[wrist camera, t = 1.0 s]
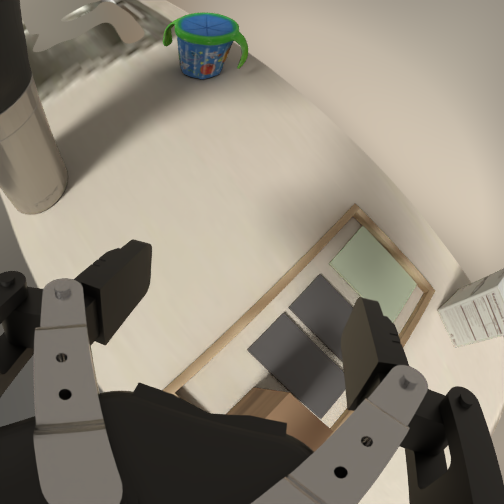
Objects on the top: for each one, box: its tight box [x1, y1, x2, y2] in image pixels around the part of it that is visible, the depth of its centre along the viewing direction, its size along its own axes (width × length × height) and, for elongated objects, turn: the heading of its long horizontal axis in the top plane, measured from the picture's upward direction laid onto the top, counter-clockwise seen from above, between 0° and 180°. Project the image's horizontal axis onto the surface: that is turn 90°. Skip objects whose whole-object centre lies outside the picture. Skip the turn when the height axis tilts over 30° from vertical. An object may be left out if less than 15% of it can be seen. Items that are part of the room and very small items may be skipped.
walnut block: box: [226, 387, 333, 452], centre depth 25 cm, size 5×5×12 cm
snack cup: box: [163, 13, 248, 79], centre depth 45 cm, size 16×10×10 cm
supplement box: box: [438, 269, 504, 348], centre depth 36 cm, size 7×7×13 cm
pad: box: [329, 226, 417, 323], centre depth 41 cm, size 12×8×1 cm
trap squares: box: [247, 274, 353, 419], centre depth 35 cm, size 12×13×1 cm
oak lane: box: [163, 204, 435, 439], centre depth 35 cm, size 18×35×1 cm, turn 135°
